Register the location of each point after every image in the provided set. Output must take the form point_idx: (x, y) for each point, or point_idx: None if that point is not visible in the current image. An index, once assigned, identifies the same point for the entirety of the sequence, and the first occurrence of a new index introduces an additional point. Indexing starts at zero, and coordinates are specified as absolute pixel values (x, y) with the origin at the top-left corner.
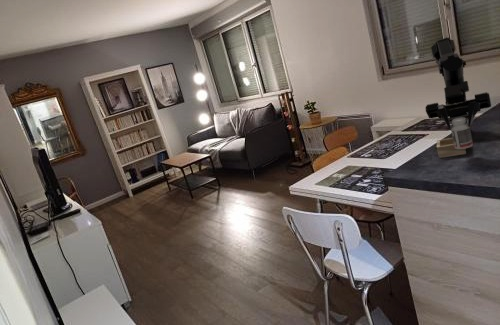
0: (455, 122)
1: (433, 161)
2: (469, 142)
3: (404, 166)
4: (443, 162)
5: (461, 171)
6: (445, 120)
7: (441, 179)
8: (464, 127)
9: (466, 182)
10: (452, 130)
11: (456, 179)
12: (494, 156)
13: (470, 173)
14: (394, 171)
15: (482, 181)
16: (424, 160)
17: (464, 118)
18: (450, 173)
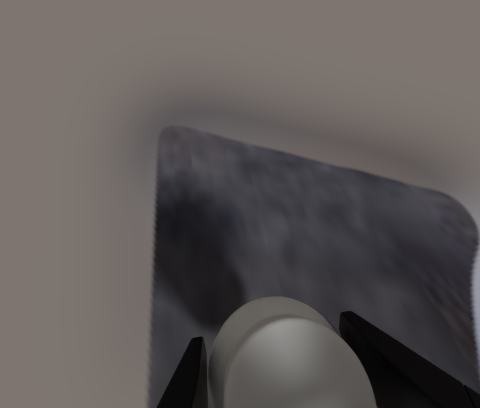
0: (309, 321)
1: (371, 321)
2: (225, 321)
3: (463, 285)
4: (325, 299)
5: (242, 206)
6: (450, 381)
7: (281, 162)
8: (234, 318)
9: (217, 141)
10: (322, 317)
11: (244, 158)
12: (153, 326)
13: (216, 189)
14: (467, 240)
15: (184, 142)
16: (419, 344)
17: (230, 396)
18: (269, 196)
